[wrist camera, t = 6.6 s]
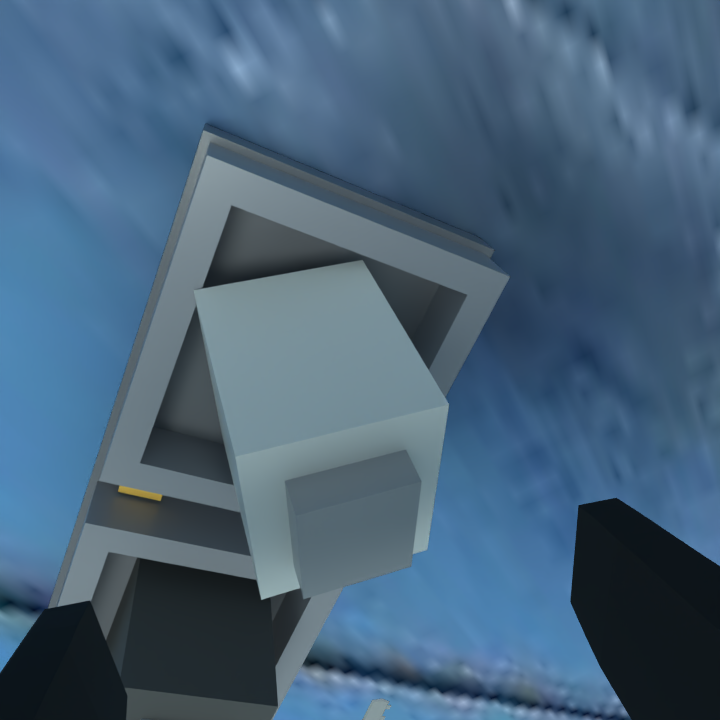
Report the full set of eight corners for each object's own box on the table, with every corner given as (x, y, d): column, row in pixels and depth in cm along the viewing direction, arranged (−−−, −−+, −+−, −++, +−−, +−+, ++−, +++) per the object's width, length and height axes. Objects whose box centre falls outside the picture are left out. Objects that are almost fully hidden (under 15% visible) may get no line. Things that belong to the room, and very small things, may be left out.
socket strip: (479, 237, 19) (520, 271, 16) (251, 687, 25) (254, 763, 23) (205, 123, 16) (200, 141, 13) (31, 657, 23) (5, 740, 20)
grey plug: (362, 259, 16) (467, 435, 12) (360, 404, 19) (440, 579, 15) (193, 289, 15) (244, 494, 11) (222, 436, 18) (269, 633, 14)
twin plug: (268, 565, 21) (280, 736, 16) (217, 671, 23) (214, 855, 18) (143, 541, 20) (113, 718, 15) (100, 655, 22) (60, 848, 17)
